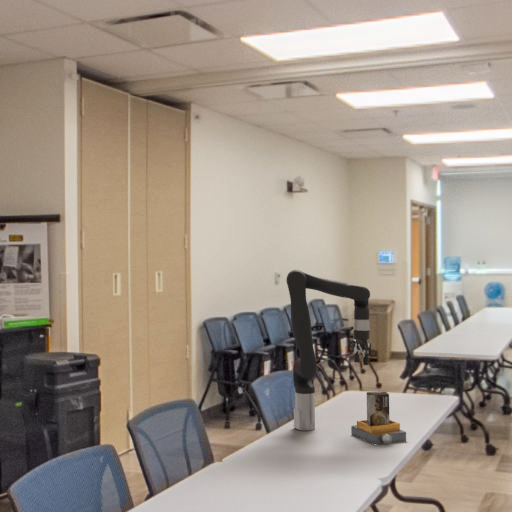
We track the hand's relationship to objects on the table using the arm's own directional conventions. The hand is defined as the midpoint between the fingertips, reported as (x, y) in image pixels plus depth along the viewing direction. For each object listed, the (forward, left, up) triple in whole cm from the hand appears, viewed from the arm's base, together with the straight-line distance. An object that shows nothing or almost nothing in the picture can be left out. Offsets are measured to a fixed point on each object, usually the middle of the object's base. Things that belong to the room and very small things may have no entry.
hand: (361, 363), depth 347 cm
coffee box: (-1, -16, -27) cm, 31 cm away
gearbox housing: (-1, -17, -31) cm, 35 cm away
